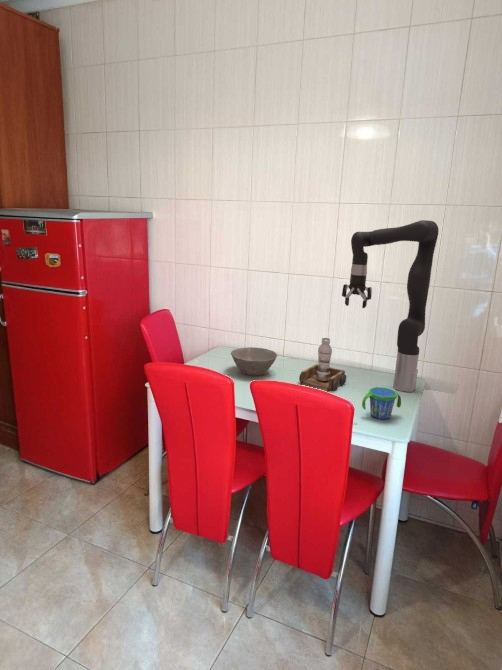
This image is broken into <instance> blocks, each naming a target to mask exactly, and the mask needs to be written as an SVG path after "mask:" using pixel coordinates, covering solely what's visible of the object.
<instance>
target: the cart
mask: <svg viewBox="0 0 502 670" xmlns="http://www.w3.org/2000/svg"><path fill="white" fill-rule="evenodd" d="M317 368H318V363H316V364H314V365H312V366H310V367H307V368H306V369H304V370H301V372H300V375H299V379H298V381H299V382H300V385H305V386H309V387H313V388H317V389H321V390H324V391H327V392H326V393H328V392H329V391H331V392H333V391H334V392H335V390H336V391H337V390H338V388H339V387H340V386H345V384H346V382H347V375H346V370H343V369H338V368H334V367H330V378H329V380H328V381H319V380H317V378H316V372H317ZM332 390H333V391H332Z"/></svg>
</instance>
